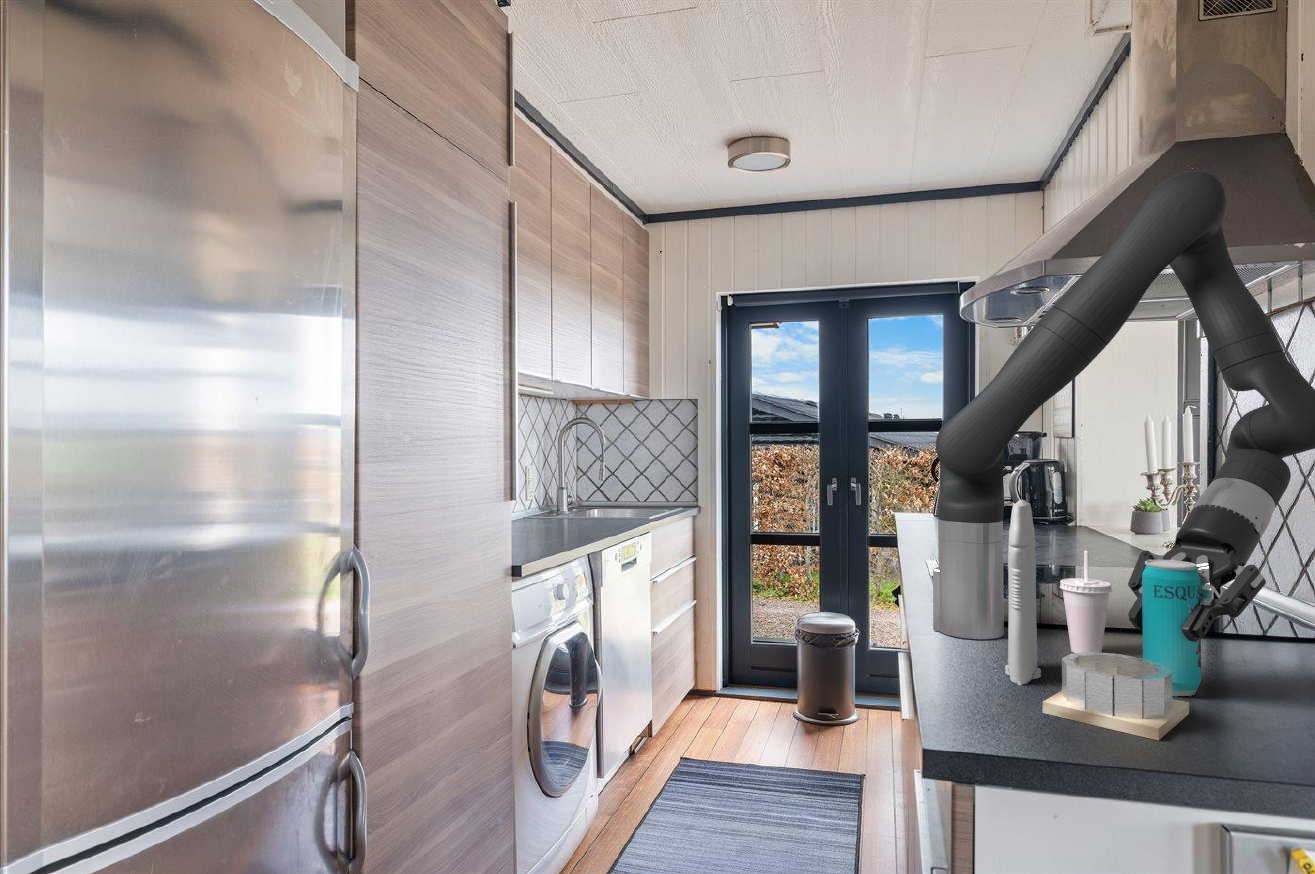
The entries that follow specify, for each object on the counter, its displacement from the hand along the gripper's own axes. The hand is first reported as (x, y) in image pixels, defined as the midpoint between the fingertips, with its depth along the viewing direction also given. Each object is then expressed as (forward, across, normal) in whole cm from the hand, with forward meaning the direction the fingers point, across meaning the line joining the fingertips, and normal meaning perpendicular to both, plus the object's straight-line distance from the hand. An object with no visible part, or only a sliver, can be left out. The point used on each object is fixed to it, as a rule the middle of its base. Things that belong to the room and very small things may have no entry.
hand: (1161, 630), depth 93 cm
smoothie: (0, -16, +11) cm, 19 cm away
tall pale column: (+12, -12, -1) cm, 17 cm away
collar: (+12, +3, -4) cm, 13 cm away
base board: (+13, +2, -3) cm, 14 cm away
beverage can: (+4, 0, +6) cm, 8 cm away
